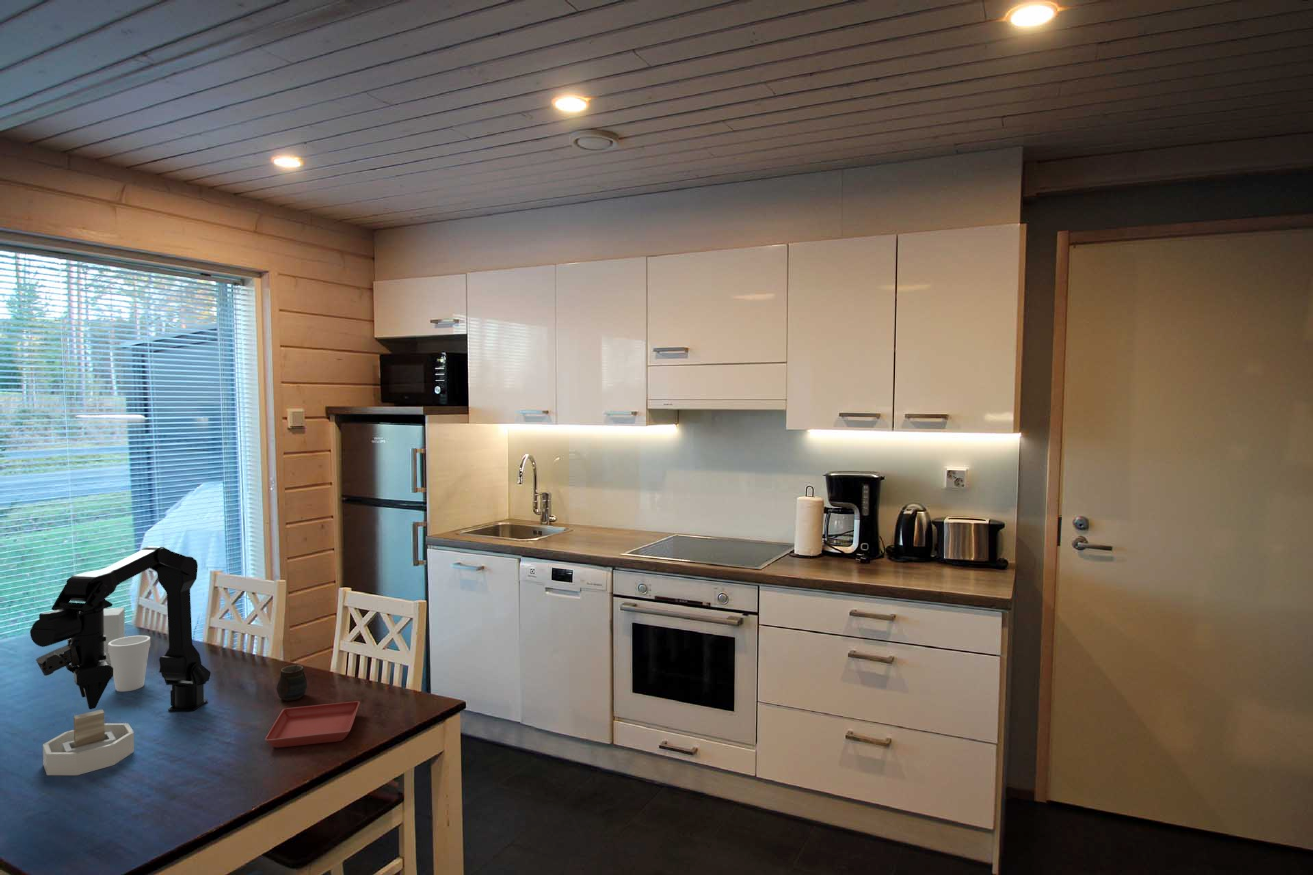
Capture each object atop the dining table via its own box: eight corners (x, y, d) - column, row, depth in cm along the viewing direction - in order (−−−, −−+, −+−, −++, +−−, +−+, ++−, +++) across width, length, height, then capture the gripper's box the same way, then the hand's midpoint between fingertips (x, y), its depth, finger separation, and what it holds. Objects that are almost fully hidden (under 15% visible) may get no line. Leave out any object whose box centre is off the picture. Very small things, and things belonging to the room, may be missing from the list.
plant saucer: (263, 753, 162) (263, 739, 162) (283, 720, 180) (282, 707, 180) (350, 744, 167) (350, 730, 167) (360, 713, 184) (360, 700, 184)
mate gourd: (299, 690, 198) (300, 654, 198) (312, 697, 194) (313, 660, 193) (272, 697, 193) (272, 660, 192) (285, 705, 188) (285, 668, 188)
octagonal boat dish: (138, 758, 159) (138, 737, 159) (49, 782, 148) (49, 761, 148) (124, 736, 169) (123, 717, 169) (40, 757, 158) (40, 737, 158)
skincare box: (100, 658, 221) (99, 608, 221) (126, 656, 224) (126, 606, 223) (92, 667, 214) (91, 615, 213) (119, 664, 216) (119, 613, 216)
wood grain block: (104, 752, 160) (104, 712, 159) (76, 760, 156) (75, 719, 156) (102, 748, 161) (102, 709, 161) (74, 756, 158) (73, 715, 157)
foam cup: (159, 681, 203) (158, 636, 203) (132, 694, 194) (131, 646, 194) (128, 680, 204) (127, 634, 204) (99, 692, 195) (99, 645, 195)
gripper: (34, 630, 158) (35, 700, 159) (45, 650, 145) (46, 726, 146) (97, 620, 166) (98, 687, 167) (113, 638, 153) (114, 710, 154)
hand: (88, 702), depth 158 cm, fingers open, 9 cm apart
